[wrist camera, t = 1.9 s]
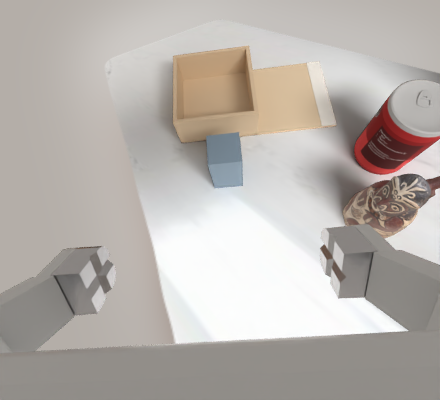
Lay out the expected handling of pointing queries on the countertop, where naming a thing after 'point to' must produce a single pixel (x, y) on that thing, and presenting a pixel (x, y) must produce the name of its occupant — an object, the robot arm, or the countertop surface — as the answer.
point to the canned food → (401, 128)
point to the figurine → (390, 203)
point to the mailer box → (245, 96)
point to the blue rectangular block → (225, 159)
